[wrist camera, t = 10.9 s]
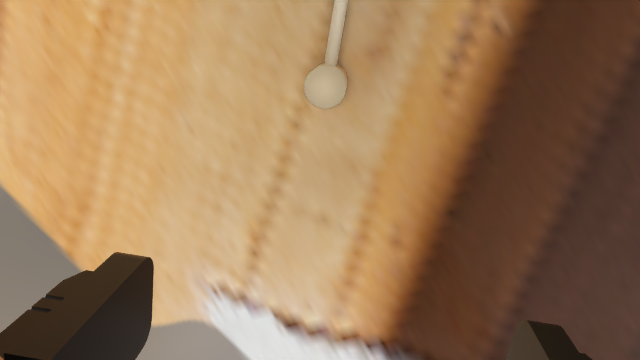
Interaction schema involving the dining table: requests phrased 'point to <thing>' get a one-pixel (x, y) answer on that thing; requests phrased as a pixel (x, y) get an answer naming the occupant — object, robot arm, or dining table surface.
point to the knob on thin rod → (329, 66)
